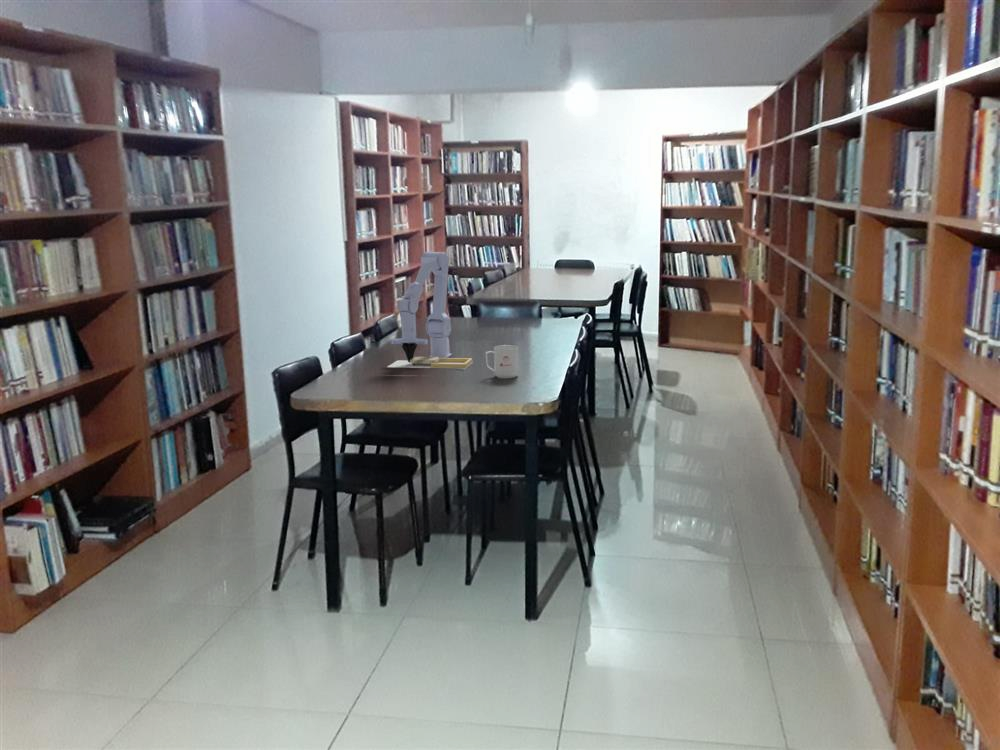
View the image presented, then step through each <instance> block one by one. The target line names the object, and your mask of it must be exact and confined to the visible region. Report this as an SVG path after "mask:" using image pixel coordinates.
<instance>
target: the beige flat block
mask: <svg viewBox="0 0 1000 750" xmlns="http://www.w3.org/2000/svg"><path fill="white" fill-rule="evenodd" d="M437 361H439V357H429V356H413V358H412V359H411V360H410V363H412V365H415V363H424V364H431V363H437Z"/></svg>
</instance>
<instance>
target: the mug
mask: <svg viewBox="0 0 1000 750" xmlns="http://www.w3.org/2000/svg"><path fill="white" fill-rule="evenodd" d="M518 350H519V347H518V346H517V345H511V344H502V345H496V346H494V347H493V351H492V350H489V351H485V362H486V364H485V365H486V367H487V368H488V369H489V370H491V371H492V372H493V373H494V375H495V377H496V378H498V379H512V378H513V379H514V378H516V377H517V376H518V375H519V351H518ZM491 353H492V354H493V361H494V363H493V367H494V368H492V367H491V366H489V362H488V354H491Z"/></svg>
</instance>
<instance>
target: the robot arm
mask: <svg viewBox="0 0 1000 750" xmlns="http://www.w3.org/2000/svg"><path fill="white" fill-rule="evenodd" d="M449 263H450V257H449V256H448V254H447V252H445V251H424V252H423V254H422V255H421V258H420V264H421V265H420V267H419V270H418V273H417V275H416V278H415V280H414V281H413V282H411V283H410V284H409V287H407V288H408V289H407V290H406V293H405V295H404V296H403V298H401V299H400V300H399V301H398V303H397V308H396V309H397V311H398V312H399V316H400V320H401V338H392V339H391V345H401V348H402V349H403V351H404V353H405V356H406V358H407V359H406V360H407V361H408V362H410V360H411V359H412V358H414V355H415V352H416V350H417V349H416V348H417V347H418V345H428V343H429V341H428V339H427V338H417V321H416V319H417V318H416V312H418V309H419V304H420V298H421V296H422V294H423V292H424V284H425V282H426V281H427V279H428V278H429V276H430V273H431V272H432V273H433V275H434V281H433V283H434V284H433V298H432V299H433V301H432V313H430V314H429V315H428V316H427V321H426V323H425V332H426V334H427V335H428V337H429V338H430V339H429V340H430V355H429V356H428V357H439V358H449V357H450V356H451V355H453V353H451V352H450V339H449V336H450V334H451V331H452V324H451V319H452V318H451V317H449V315H447V313H446V308H447V307H446V306H447V291H448V277H449V276H448V275H449V273H448V272H449V267H450V266H449V265H450V264H449Z"/></svg>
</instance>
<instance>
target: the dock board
mask: <svg viewBox="0 0 1000 750" xmlns="http://www.w3.org/2000/svg"><path fill="white" fill-rule="evenodd" d="M473 363H474V361H473V357H472V358H471V357H470V358H469V357H468V358H467V357H466V358H465V357H447V358H439V361H437V363H431V364H424V363H415V365H412V363H410V362H408V360H407V359H406V360H401V359H399V360H395V361H394V362H392V363H391V364H389V365H387V368H408V369H409V368H411V369H412V368H413V369H414V368H415V369H417V368H418V369H456V371H457V370H458V371H459V370H461V371H462V370H463V371H465V370H467V369H468V368H469V367H470V366H471V365H473Z"/></svg>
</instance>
